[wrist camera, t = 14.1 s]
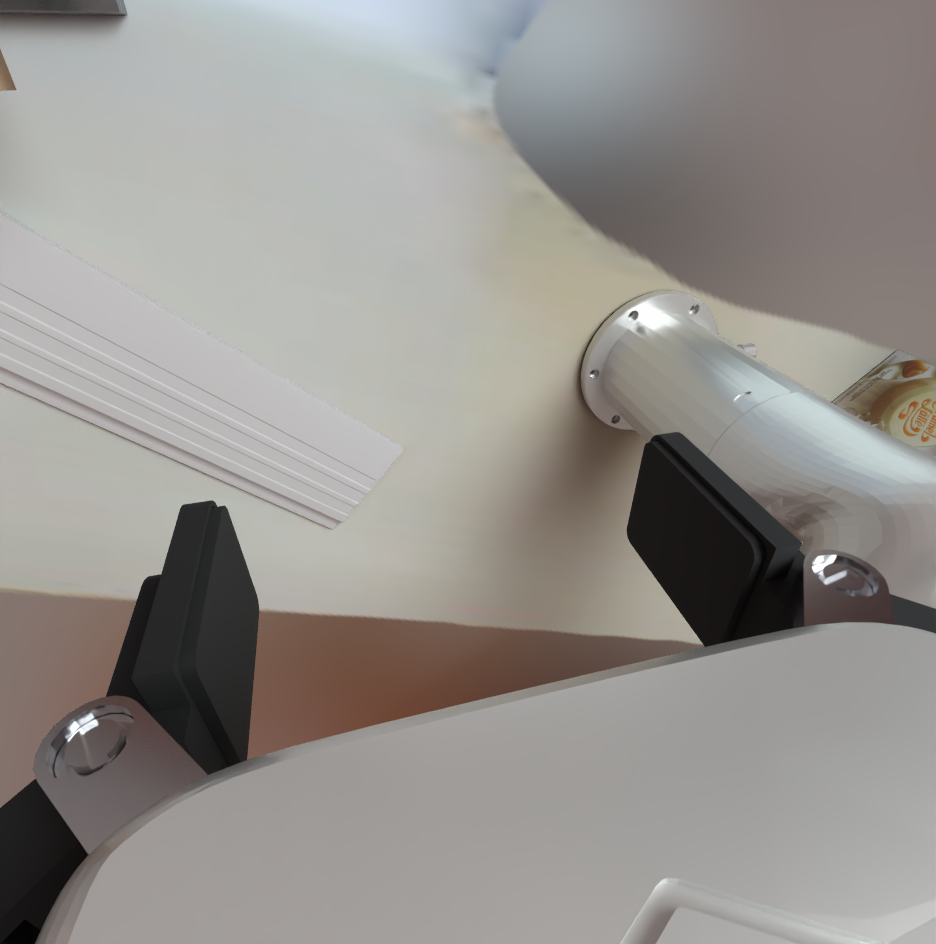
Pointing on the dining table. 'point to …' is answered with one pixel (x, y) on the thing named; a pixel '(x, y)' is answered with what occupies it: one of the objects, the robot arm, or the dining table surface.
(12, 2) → the ridge stand
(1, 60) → the tan long block
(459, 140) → the dining table surface
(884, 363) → the coffee box
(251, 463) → the baseboard molding
